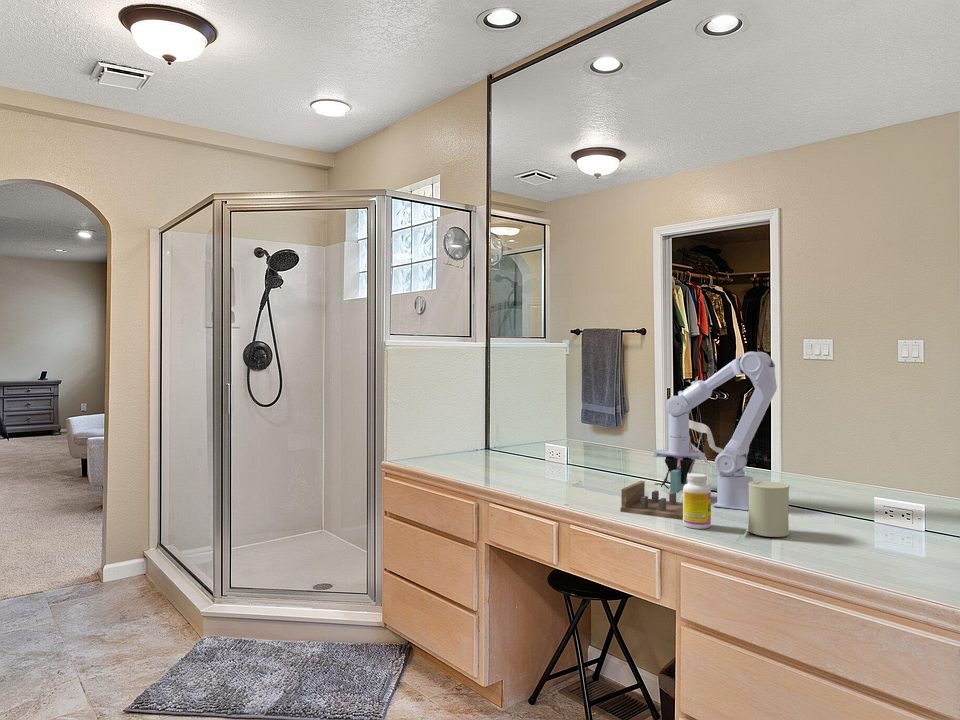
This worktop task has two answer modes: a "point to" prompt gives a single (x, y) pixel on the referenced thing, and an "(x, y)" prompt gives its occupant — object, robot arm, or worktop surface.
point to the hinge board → (649, 502)
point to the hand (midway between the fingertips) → (679, 483)
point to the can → (768, 508)
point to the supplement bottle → (697, 502)
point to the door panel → (676, 480)
